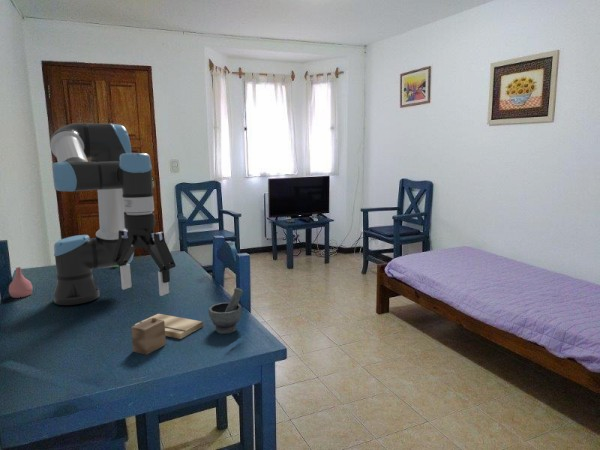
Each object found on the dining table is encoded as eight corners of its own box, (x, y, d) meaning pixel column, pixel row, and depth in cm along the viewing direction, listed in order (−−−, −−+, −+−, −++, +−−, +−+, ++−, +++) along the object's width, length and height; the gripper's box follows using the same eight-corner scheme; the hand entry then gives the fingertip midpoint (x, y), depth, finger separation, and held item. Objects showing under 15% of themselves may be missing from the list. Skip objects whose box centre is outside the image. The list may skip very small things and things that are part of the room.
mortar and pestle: (219, 338, 121) (217, 298, 119) (204, 329, 128) (202, 291, 126) (252, 328, 128) (250, 290, 126) (235, 319, 135) (234, 283, 133)
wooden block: (133, 351, 114) (131, 324, 112) (152, 341, 120) (150, 315, 119) (147, 355, 112) (144, 327, 110) (165, 344, 118) (164, 317, 117)
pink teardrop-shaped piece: (18, 302, 157) (14, 271, 155) (5, 300, 160) (1, 269, 158) (38, 296, 164) (34, 266, 162) (24, 294, 167) (21, 264, 165)
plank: (134, 329, 129) (134, 323, 129) (158, 318, 138) (158, 313, 137) (180, 338, 121) (180, 333, 121) (202, 326, 130) (202, 320, 130)
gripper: (93, 212, 112) (100, 289, 115) (165, 216, 101) (171, 301, 105) (116, 209, 119) (122, 282, 122) (186, 213, 108) (190, 292, 111)
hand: (145, 291), depth 113 cm, fingers open, 13 cm apart
